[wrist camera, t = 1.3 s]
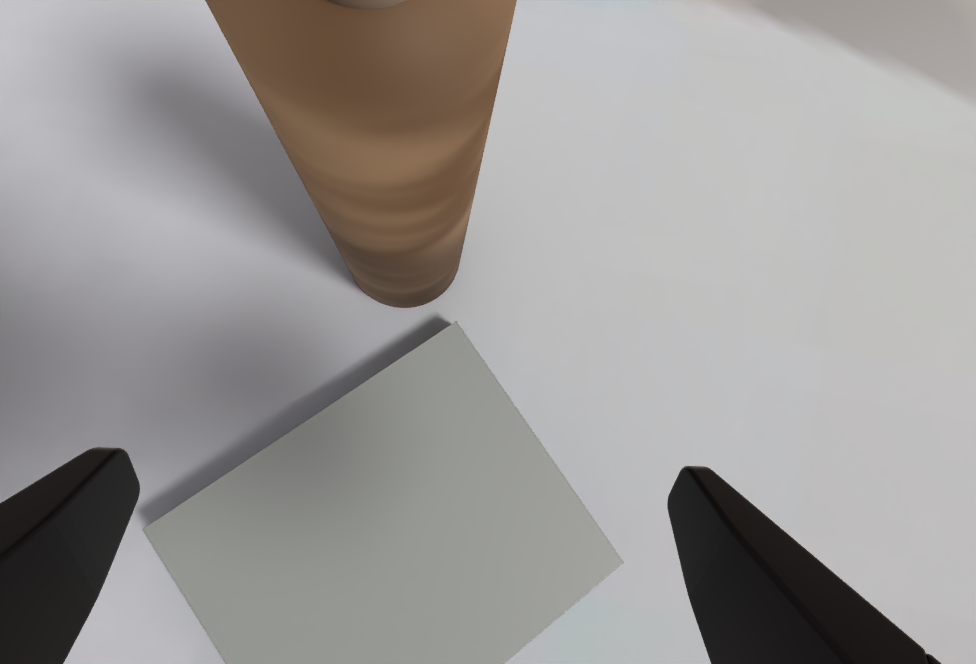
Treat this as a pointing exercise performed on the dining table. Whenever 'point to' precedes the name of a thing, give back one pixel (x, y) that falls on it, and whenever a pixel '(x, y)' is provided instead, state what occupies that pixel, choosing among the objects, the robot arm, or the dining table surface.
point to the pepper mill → (380, 121)
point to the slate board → (389, 528)
